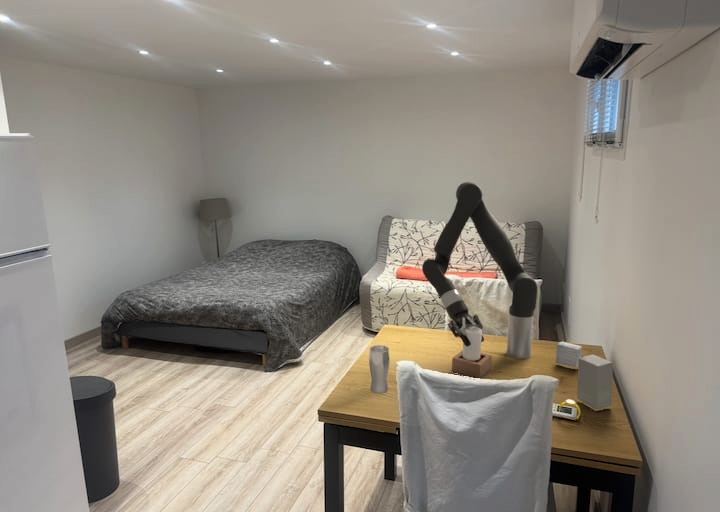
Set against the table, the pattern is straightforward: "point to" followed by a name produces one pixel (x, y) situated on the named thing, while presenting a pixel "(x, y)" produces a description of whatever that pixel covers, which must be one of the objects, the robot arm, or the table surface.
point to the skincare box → (595, 381)
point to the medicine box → (568, 354)
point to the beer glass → (379, 368)
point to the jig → (471, 365)
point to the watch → (571, 403)
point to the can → (473, 343)
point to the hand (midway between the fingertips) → (475, 343)
